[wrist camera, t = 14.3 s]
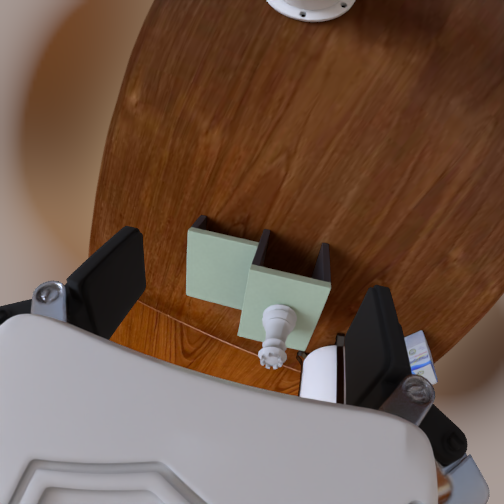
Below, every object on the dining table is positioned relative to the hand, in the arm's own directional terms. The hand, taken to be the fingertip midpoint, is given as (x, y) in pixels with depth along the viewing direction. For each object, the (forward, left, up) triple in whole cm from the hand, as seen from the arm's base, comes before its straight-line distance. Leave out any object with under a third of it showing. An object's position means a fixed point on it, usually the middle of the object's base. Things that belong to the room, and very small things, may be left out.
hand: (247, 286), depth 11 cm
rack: (+19, -2, -30) cm, 36 cm away
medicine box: (+30, +33, -31) cm, 54 cm away
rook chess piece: (+19, +3, -20) cm, 27 cm away
